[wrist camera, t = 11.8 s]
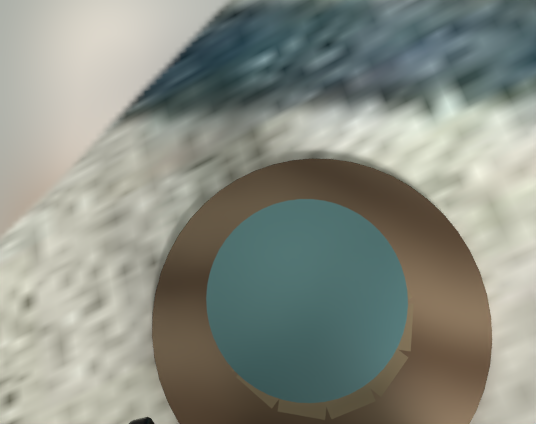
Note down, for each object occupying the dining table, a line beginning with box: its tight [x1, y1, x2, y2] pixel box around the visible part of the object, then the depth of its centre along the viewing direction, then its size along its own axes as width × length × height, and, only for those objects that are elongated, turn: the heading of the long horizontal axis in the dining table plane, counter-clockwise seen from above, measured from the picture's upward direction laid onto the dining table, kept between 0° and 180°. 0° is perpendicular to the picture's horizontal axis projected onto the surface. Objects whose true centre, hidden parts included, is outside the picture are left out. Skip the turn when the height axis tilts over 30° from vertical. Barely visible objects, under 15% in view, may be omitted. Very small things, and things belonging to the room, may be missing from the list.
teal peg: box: [206, 199, 408, 403], centre depth 16 cm, size 4×4×13 cm
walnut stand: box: [152, 159, 492, 424], centre depth 21 cm, size 17×17×4 cm
